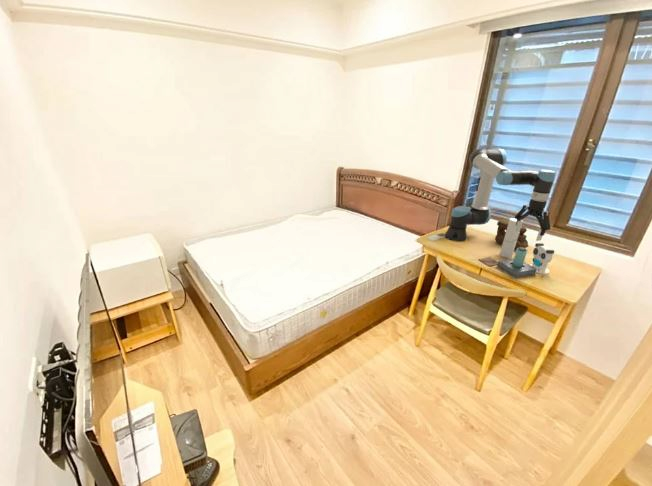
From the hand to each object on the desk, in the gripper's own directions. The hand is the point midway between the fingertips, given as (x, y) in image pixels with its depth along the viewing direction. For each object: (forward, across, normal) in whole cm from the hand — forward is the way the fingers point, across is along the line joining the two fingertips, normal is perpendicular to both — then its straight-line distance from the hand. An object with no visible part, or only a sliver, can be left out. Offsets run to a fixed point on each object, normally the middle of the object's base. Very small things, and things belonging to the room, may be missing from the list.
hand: (527, 235), depth 167 cm
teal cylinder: (+23, 0, -1) cm, 23 cm away
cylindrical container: (+23, -18, +11) cm, 31 cm away
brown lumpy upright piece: (+23, -29, +25) cm, 45 cm away
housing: (+23, 0, -1) cm, 23 cm away
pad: (+23, -13, -7) cm, 27 cm away
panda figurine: (+23, +2, +14) cm, 27 cm away
